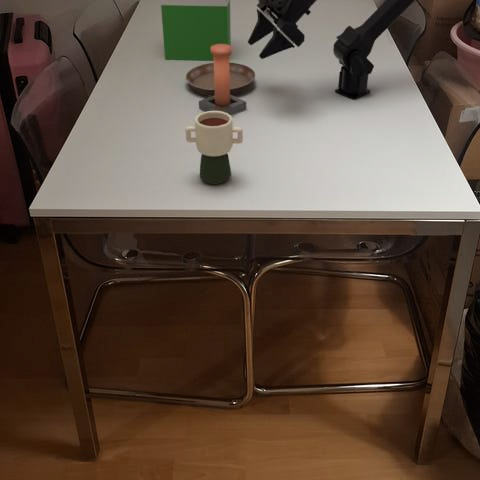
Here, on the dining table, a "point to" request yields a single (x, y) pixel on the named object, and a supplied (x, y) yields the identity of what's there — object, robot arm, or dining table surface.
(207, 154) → the cream and green cup
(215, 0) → the hardback book
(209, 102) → the collar
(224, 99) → the stop pin
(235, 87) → the plant saucer
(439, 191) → the dining table surface
